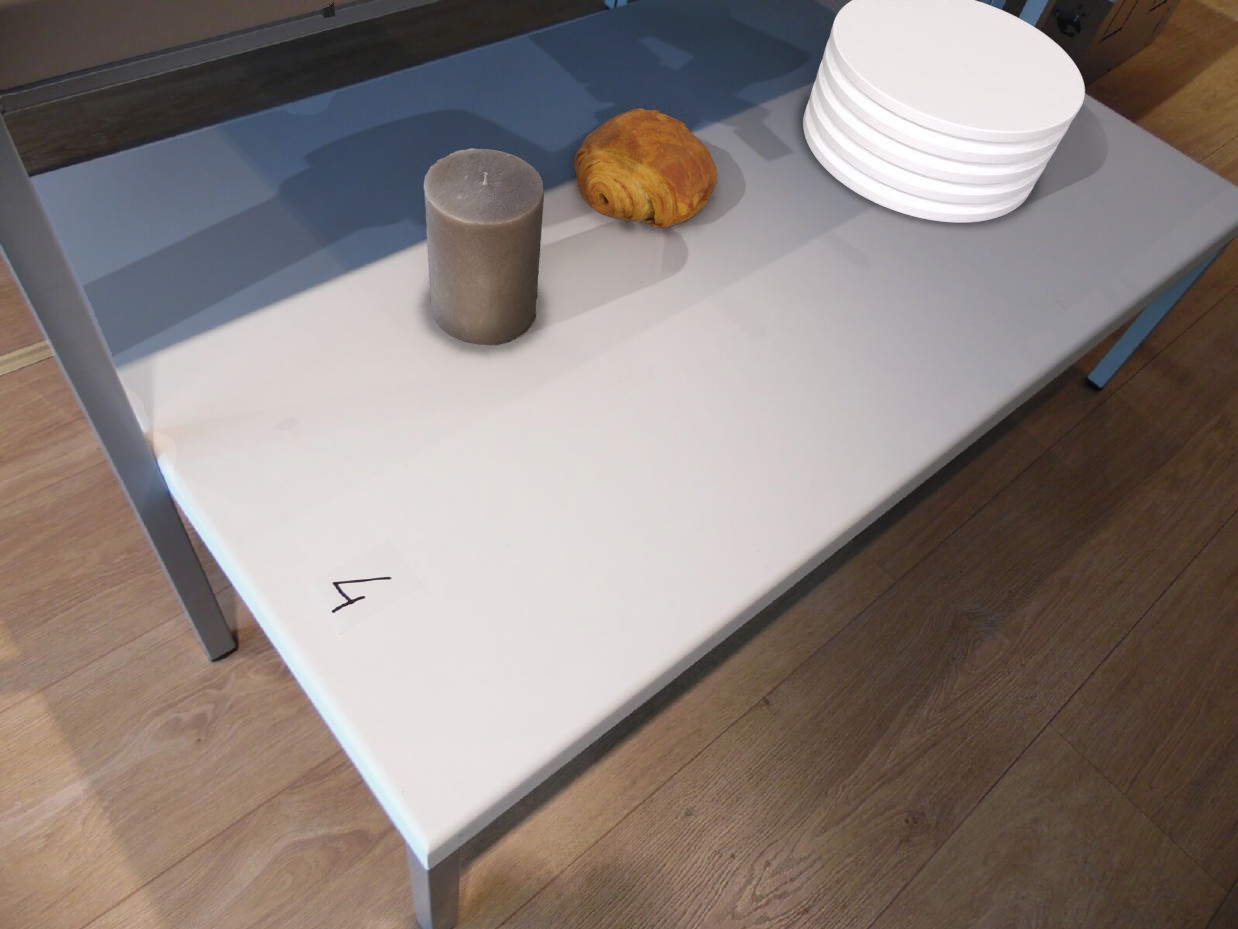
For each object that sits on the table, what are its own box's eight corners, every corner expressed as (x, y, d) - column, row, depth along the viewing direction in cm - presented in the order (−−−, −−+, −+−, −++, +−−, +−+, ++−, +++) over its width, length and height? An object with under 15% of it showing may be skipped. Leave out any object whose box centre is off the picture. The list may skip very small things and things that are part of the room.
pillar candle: (556, 324, 84) (570, 189, 72) (461, 361, 80) (459, 224, 68) (502, 259, 88) (507, 121, 76) (410, 291, 84) (399, 151, 72)
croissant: (549, 204, 97) (545, 143, 90) (636, 127, 104) (639, 64, 97) (659, 267, 93) (664, 208, 86) (743, 182, 99) (754, 121, 92)
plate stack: (800, 62, 117) (827, -29, 107) (1012, 99, 118) (1058, 12, 109) (805, 199, 100) (839, 104, 91) (1053, 241, 101) (1111, 152, 92)
